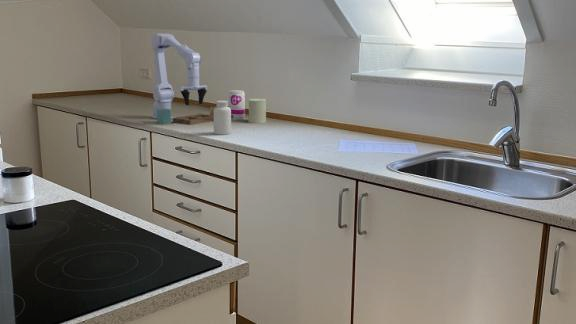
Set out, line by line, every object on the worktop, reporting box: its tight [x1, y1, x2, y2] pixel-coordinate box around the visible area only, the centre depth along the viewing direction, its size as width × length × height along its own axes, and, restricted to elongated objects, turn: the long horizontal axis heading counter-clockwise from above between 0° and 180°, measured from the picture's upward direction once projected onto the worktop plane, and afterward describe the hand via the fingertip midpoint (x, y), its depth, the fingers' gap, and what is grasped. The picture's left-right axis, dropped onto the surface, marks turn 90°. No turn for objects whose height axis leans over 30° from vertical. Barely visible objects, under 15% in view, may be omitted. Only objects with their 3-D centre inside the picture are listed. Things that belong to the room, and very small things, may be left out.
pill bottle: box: [213, 100, 232, 136], centre depth 280 cm, size 8×8×15 cm
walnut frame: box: [172, 113, 214, 126], centre depth 316 cm, size 13×20×2 cm, turn 143°
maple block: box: [209, 106, 216, 116], centre depth 329 cm, size 5×5×7 cm
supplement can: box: [228, 89, 246, 121], centre depth 323 cm, size 8×8×15 cm
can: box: [248, 98, 267, 124], centre depth 315 cm, size 9×9×12 cm
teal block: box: [156, 108, 172, 125], centre depth 308 cm, size 5×5×7 cm
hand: (193, 104), depth 305 cm, fingers open, 7 cm apart
